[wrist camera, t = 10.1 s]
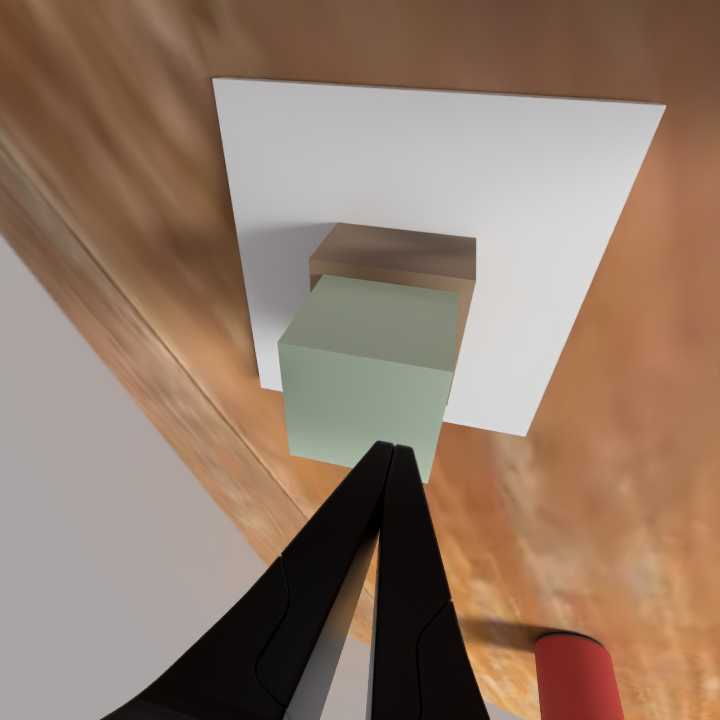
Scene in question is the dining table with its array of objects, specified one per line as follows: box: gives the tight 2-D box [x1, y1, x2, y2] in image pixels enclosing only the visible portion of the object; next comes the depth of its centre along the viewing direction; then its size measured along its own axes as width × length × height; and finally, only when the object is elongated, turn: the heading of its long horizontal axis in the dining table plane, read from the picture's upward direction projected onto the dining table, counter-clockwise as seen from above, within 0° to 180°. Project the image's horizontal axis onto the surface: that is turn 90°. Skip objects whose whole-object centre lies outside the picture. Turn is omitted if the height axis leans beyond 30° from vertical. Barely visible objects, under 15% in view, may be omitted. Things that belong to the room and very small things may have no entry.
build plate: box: [212, 77, 667, 436], centre depth 20 cm, size 16×16×1 cm
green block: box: [277, 274, 459, 484], centre depth 14 cm, size 5×5×4 cm
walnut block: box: [309, 222, 476, 406], centre depth 18 cm, size 6×6×4 cm
